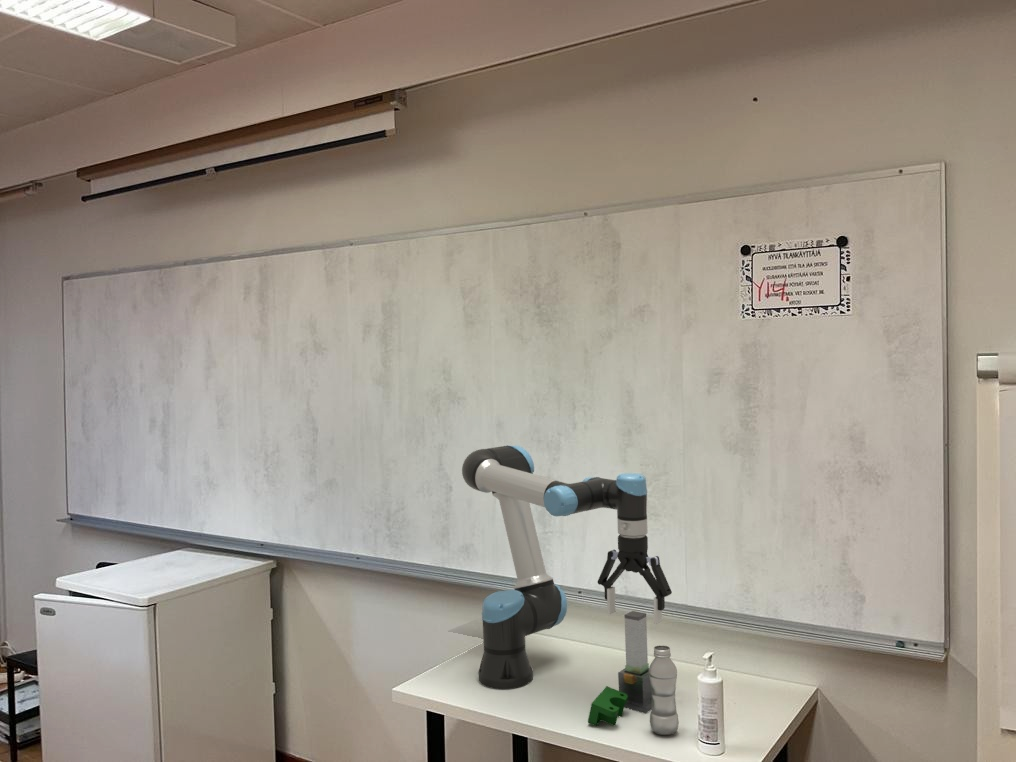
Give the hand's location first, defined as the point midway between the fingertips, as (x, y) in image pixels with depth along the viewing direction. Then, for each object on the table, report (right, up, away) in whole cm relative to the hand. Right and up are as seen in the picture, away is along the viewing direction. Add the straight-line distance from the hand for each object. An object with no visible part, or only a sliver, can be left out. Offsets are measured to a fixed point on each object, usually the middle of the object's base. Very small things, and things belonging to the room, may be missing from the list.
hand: (634, 617), depth 211 cm
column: (+1, -14, 0) cm, 14 cm away
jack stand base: (+1, -22, 0) cm, 22 cm away
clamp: (-8, -23, -9) cm, 26 cm away
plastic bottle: (+4, -22, -17) cm, 28 cm away
